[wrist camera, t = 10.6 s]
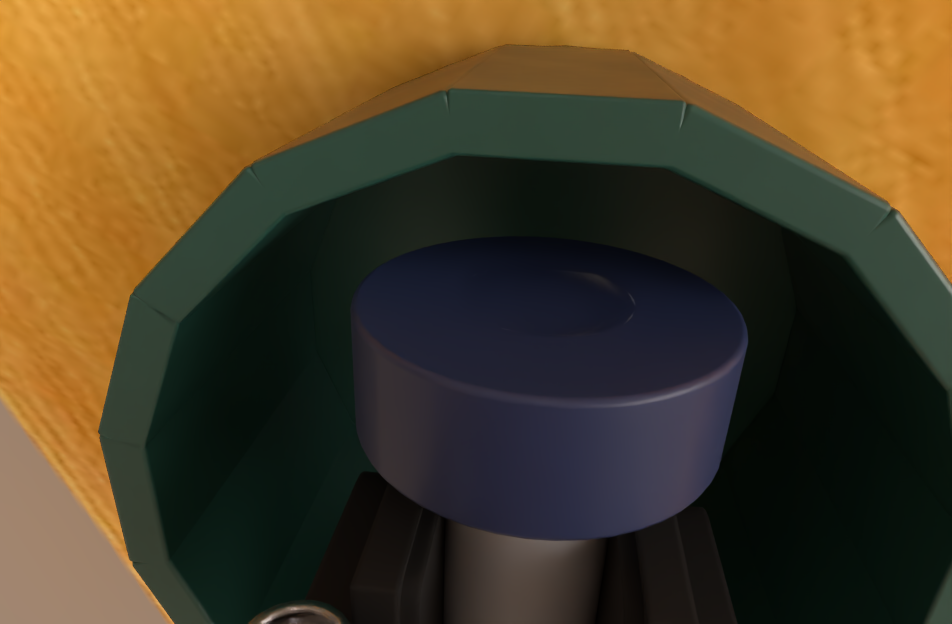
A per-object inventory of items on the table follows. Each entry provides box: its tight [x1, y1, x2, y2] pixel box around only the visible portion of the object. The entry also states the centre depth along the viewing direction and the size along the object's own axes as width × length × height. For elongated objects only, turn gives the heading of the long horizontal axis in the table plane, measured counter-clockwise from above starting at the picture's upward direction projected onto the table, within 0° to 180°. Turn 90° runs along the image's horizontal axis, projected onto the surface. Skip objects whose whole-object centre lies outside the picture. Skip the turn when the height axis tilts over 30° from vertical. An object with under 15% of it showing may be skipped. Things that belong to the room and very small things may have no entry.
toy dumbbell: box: [350, 236, 748, 624], centre depth 9 cm, size 8×4×4 cm, turn 178°
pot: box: [98, 45, 952, 624], centre depth 13 cm, size 12×12×8 cm
